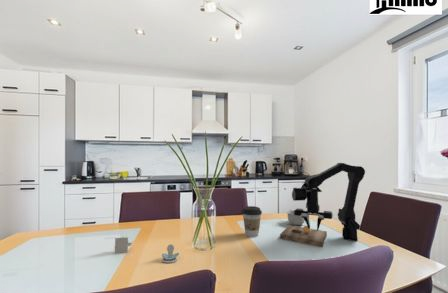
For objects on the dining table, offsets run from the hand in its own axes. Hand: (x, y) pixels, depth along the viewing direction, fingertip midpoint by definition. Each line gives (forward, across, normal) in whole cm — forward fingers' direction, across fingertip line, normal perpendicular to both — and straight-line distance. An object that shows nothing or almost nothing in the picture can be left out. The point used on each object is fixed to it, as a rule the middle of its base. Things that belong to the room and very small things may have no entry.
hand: (313, 229), depth 120 cm
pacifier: (+5, +50, +57) cm, 75 cm away
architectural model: (+5, +74, +62) cm, 97 cm away
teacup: (+4, +15, -23) cm, 28 cm away
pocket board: (+5, +5, 0) cm, 7 cm away
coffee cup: (+4, +31, +10) cm, 33 cm away
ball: (0, +4, 0) cm, 4 cm away
